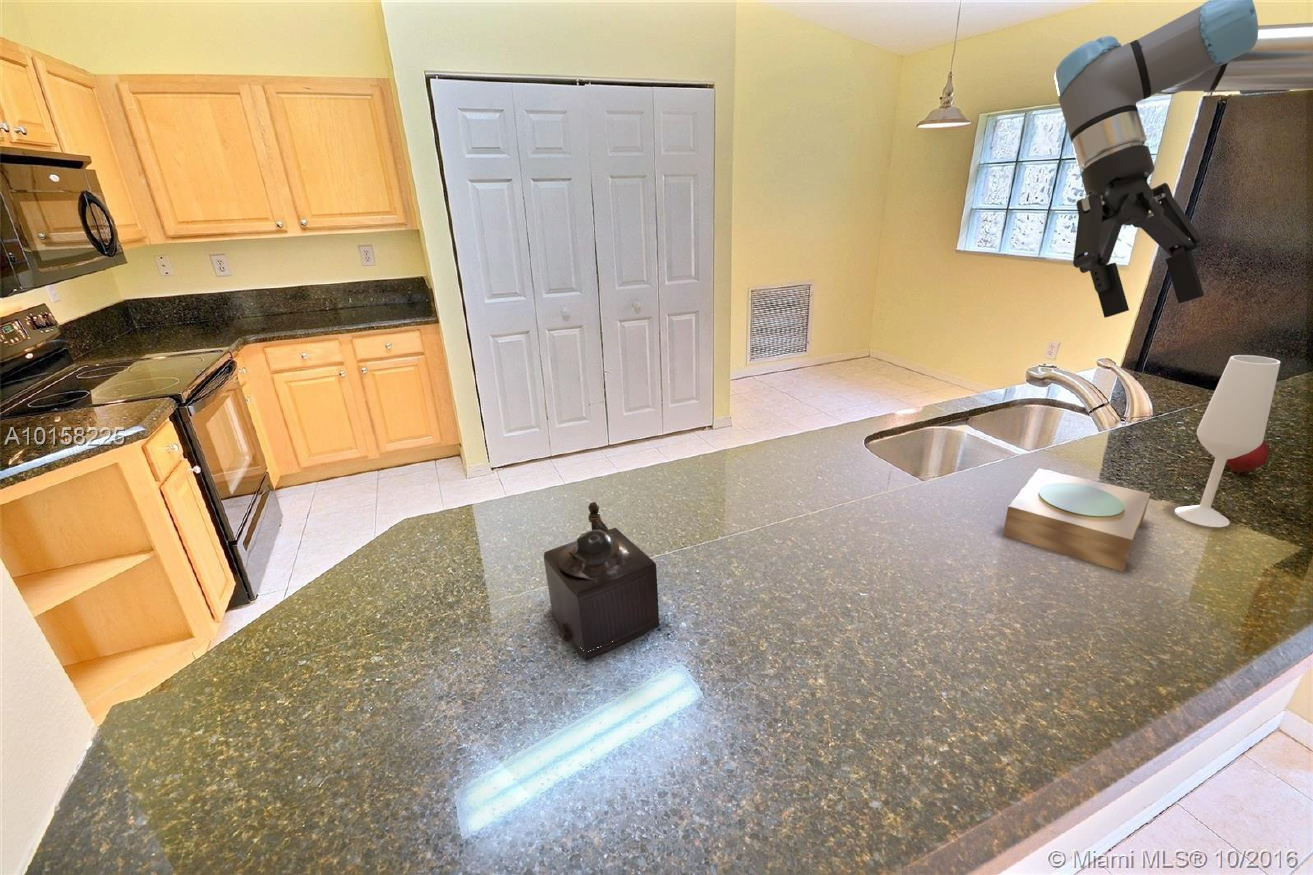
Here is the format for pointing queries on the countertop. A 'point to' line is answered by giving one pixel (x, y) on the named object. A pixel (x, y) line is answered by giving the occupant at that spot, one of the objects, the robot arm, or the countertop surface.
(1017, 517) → the wooden display base
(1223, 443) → the champagne flute
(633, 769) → the countertop surface
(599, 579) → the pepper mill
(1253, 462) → the onion
